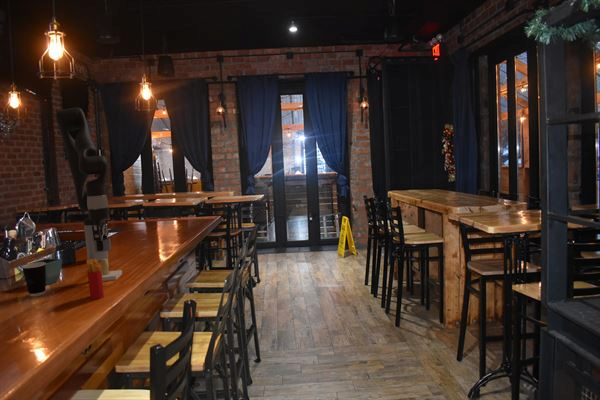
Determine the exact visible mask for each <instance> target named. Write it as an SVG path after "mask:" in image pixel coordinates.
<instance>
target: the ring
mask: <svg viewBox="0 0 600 400" xmlns="http://www.w3.org/2000/svg"><path fill="white" fill-rule="evenodd" d="M96 242H97V241H94V240H93V243H94V252H104V251H108V252H109V251H111V250H112V246H111V244H112V243H111V238H110V237H107V238H103V248H104V250H102V251H98V250H97V243H96Z"/></svg>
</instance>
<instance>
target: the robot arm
mask: <svg viewBox="0 0 600 400" xmlns="http://www.w3.org/2000/svg"><path fill="white" fill-rule="evenodd" d="M55 118H56V119H55V120H56V123H57V126H58V129H59V132H60V135H61V139H62V141H63V145H64V149H65V153H66V154H65V155H66V158H67V162H68V167H69V170H70V173H71V177H72V180H73V185H74V189H75V195H76V200H77V205H78V208H79V209H80V210H81V211H85V212H86V211H87V212H88V213H87V214H88V217H85V218H84V219H83V228H84V237H85V244H86V253H87V254H86V255H87V260H90V259H93V258H94V259H97V260H98V262H101V259H108V260H109V251H104V252H94V243H93V240H94V241H97V242H96V243H97V250H98V251H102V250H104V248H103V238H109V235H110V234H109V223H108V220H106V219H109V218H110V210H109V209H110V208H109V202H108V196H107V188H106V180H107V173H108V167H109V163H108V160H107V158H106V157H105V156H103V155H98V149H97V148H96V146H95V143H94V141H93V139H92V135H91V132H90V128H89V124H88V121H87V118H86V115H85V113H84V111H83V109H82V108H80V107H70V108H65V109H64V108H63V109H59V110H56V113H55ZM77 130H79V132H78V133H77V135H76V137H75V139H74V138H73V137H72V135H71V134H70V133H69V132H72V131H77ZM90 175H97V177H96V178H95V179H92V180H89V181H87V179H89V176H90ZM86 181H87V182H86ZM85 183H86V184H85ZM84 187H85V190H84Z"/></svg>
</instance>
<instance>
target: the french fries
mask: <svg viewBox="0 0 600 400" xmlns="http://www.w3.org/2000/svg"><path fill="white" fill-rule="evenodd" d="M99 262H100V261H98V260H97V259H94V258H93V259H90V260H88V259H87V260H86V267H87V272H86V273H87V279H88V287H89V289H88V290H89V295H90V300H94V301H95V300H100V299H103V298H104V296H105V292H104V291H105V290H104V281H103V280H102V267H101V263H99Z"/></svg>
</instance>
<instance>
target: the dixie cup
mask: <svg viewBox="0 0 600 400" xmlns="http://www.w3.org/2000/svg"><path fill="white" fill-rule="evenodd" d="M30 263H31V264H28V263H27V264H24V265H22V266H21V267H20V268H21V269H22V272H23V276H24V280H25V285H26V288H27V291H28V294H29V296H30V297H39V296H43V295H45V294H46V286H47V285H46V274H45V264H46V263H45V262H37V263H32V262H30Z"/></svg>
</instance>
